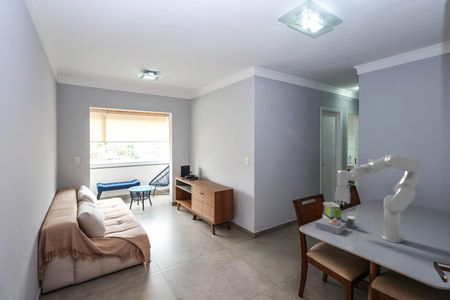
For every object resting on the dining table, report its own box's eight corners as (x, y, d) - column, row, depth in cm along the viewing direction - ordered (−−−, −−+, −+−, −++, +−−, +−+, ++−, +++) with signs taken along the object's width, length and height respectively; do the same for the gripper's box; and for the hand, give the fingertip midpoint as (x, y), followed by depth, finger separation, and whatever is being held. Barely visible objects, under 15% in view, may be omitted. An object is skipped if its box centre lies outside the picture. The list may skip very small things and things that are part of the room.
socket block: (345, 229, 178) (345, 223, 178) (338, 234, 169) (338, 228, 169) (323, 223, 192) (323, 217, 191) (315, 227, 182) (315, 221, 182)
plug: (354, 228, 181) (355, 217, 180) (353, 229, 178) (353, 218, 177) (348, 226, 184) (349, 215, 184) (346, 228, 181) (346, 217, 181)
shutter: (340, 223, 178) (340, 219, 178) (337, 225, 173) (337, 221, 173) (331, 220, 183) (331, 216, 183) (328, 223, 178) (328, 219, 178)
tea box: (341, 223, 191) (342, 206, 191) (330, 223, 191) (330, 206, 191) (333, 217, 207) (333, 201, 206) (322, 217, 206) (322, 201, 206)
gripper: (354, 187, 169) (354, 210, 170) (334, 184, 180) (334, 206, 181) (351, 188, 164) (350, 213, 165) (330, 185, 175) (330, 208, 176)
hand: (342, 209), depth 173 cm, fingers closed
